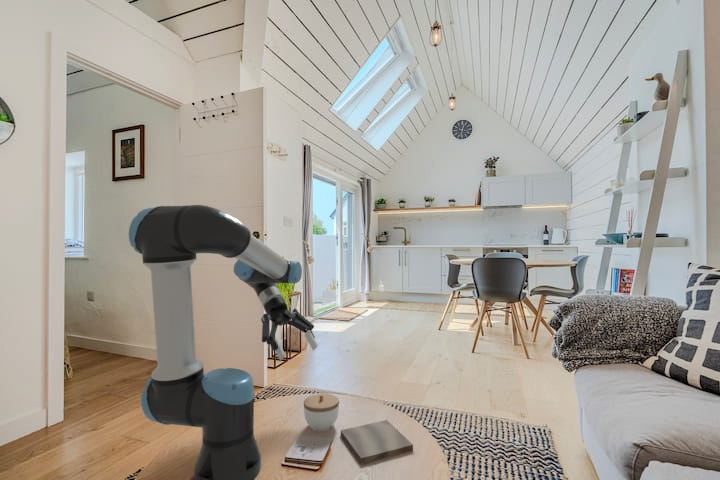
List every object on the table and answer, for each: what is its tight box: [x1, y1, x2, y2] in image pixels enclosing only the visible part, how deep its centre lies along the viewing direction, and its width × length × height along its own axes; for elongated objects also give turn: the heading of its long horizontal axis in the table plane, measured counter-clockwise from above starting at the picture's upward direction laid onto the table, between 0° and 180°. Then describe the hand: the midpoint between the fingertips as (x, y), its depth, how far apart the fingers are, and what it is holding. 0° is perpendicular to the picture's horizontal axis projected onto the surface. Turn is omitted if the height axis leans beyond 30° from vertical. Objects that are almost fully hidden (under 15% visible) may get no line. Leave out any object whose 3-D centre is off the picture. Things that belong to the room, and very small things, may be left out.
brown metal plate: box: [340, 419, 414, 465], centre depth 96 cm, size 15×15×2 cm
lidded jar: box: [303, 393, 340, 432], centre depth 106 cm, size 11×11×9 cm
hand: (299, 352), depth 114 cm, fingers open, 13 cm apart
